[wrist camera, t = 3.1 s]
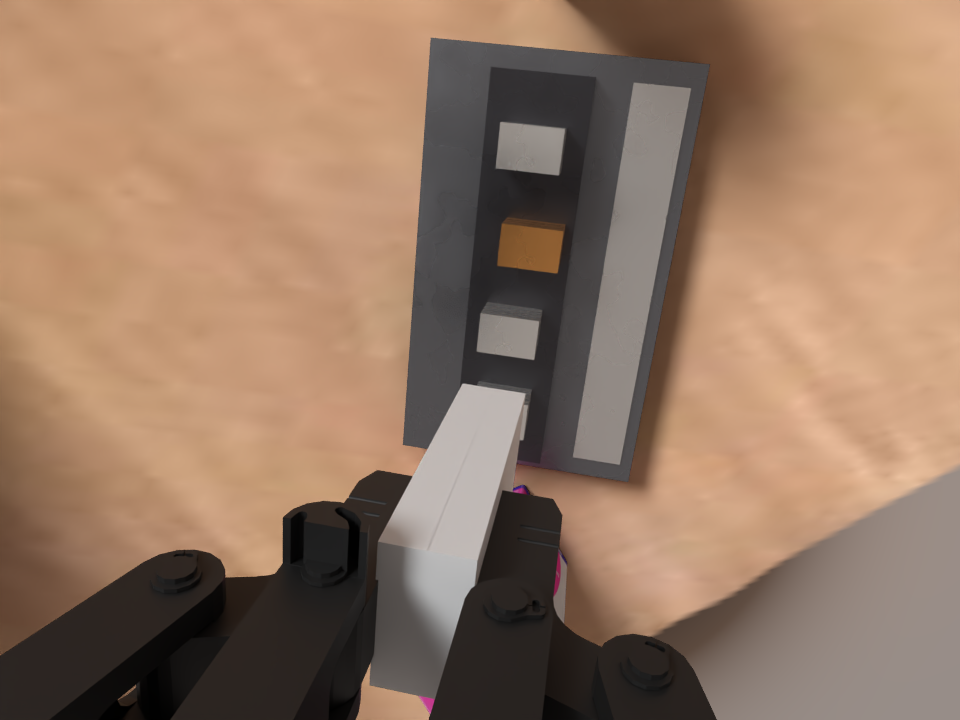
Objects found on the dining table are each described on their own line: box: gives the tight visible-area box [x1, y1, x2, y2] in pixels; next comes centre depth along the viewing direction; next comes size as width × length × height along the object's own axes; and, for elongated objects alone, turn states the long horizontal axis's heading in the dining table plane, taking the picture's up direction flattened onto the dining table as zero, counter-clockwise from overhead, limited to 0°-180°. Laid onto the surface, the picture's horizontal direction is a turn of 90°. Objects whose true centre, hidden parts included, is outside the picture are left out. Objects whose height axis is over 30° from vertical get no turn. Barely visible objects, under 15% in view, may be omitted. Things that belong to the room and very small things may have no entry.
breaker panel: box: [403, 38, 710, 482], centre depth 33 cm, size 20×12×6 cm, turn 174°
